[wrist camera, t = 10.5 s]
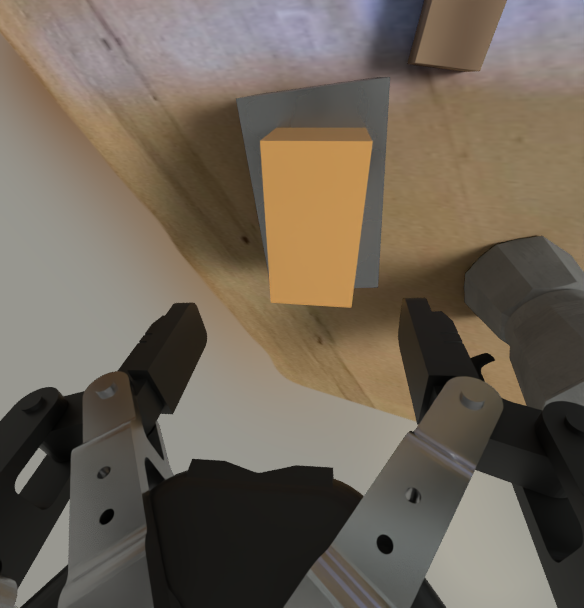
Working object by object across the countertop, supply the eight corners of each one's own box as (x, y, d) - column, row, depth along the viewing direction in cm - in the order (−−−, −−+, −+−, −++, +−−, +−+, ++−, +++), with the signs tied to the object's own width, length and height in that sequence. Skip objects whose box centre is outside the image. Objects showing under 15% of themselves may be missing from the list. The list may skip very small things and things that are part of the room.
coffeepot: (581, 198, 25) (912, 364, 10) (607, 279, 29) (877, 483, 14) (404, 288, 32) (457, 462, 17) (443, 344, 36) (513, 524, 21)
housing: (276, 127, 19) (260, 140, 15) (365, 127, 19) (372, 141, 15) (281, 266, 25) (270, 302, 21) (349, 270, 25) (351, 307, 21)
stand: (281, 258, 31) (271, 290, 27) (257, 94, 23) (236, 98, 19) (371, 253, 30) (377, 287, 25) (378, 77, 22) (389, 77, 17)
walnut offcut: (406, 64, 21) (415, 62, 19) (441, -67, 18) (456, -89, 15) (464, 71, 21) (479, 71, 19) (510, -59, 18) (537, -80, 15)
